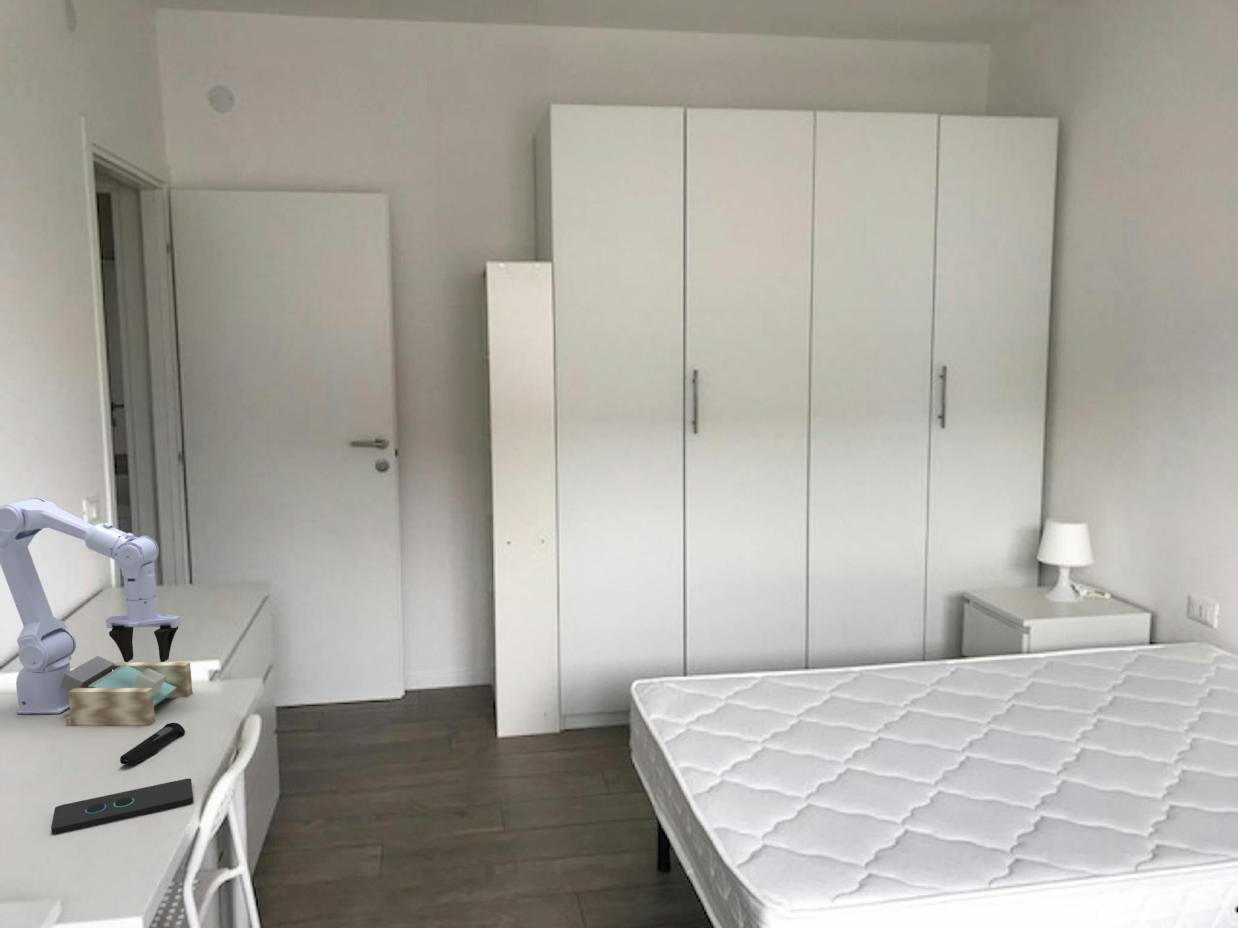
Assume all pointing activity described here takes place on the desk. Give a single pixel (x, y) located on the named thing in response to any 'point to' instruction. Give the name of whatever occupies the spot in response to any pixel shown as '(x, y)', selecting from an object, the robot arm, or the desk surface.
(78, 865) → the desk surface
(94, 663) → the trapdoor
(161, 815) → the desk surface
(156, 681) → the gray cube
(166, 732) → the electric trimmer
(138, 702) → the rail stand
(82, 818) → the smart home device
